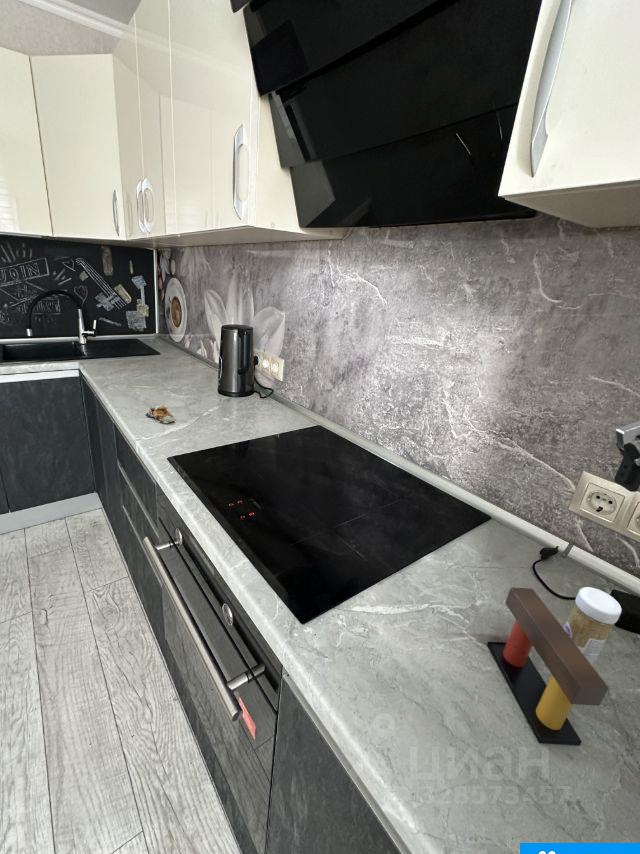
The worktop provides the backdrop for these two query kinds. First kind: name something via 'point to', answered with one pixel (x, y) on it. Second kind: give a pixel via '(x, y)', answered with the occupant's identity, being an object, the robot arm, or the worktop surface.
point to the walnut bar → (556, 648)
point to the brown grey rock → (160, 414)
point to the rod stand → (534, 690)
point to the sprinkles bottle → (592, 621)
